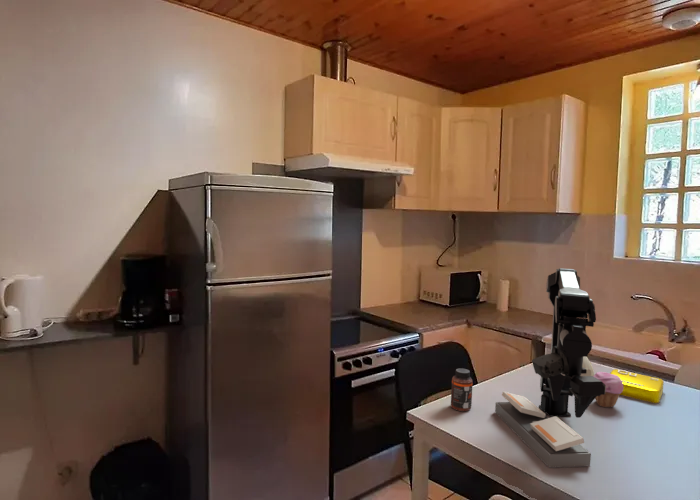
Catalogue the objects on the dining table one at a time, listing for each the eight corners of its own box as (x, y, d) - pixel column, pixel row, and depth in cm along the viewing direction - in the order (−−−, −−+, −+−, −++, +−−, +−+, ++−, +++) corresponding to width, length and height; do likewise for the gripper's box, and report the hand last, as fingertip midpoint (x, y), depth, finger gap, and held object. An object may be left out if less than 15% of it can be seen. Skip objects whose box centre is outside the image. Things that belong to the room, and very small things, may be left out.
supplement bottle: (472, 413, 126) (474, 375, 125) (450, 410, 127) (452, 373, 126) (470, 404, 132) (472, 368, 131) (450, 402, 133) (452, 366, 132)
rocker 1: (523, 400, 127) (524, 396, 127) (544, 418, 116) (545, 413, 116) (501, 395, 126) (503, 390, 126) (520, 412, 115) (522, 407, 115)
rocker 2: (556, 420, 111) (555, 415, 111) (584, 442, 100) (583, 437, 100) (531, 427, 111) (530, 423, 111) (556, 451, 100) (555, 446, 100)
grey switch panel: (527, 411, 128) (528, 400, 128) (590, 466, 100) (591, 451, 100) (495, 412, 127) (495, 400, 127) (548, 467, 99) (549, 453, 99)
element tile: (603, 391, 146) (604, 377, 146) (612, 379, 157) (613, 366, 157) (658, 405, 136) (659, 390, 136) (663, 391, 148) (664, 377, 147)
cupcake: (586, 397, 140) (588, 366, 139) (616, 400, 138) (618, 370, 137) (593, 408, 132) (595, 376, 131) (625, 412, 129) (628, 380, 128)
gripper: (519, 334, 113) (515, 393, 114) (561, 358, 94) (556, 428, 95) (559, 334, 114) (556, 392, 115) (609, 357, 95) (604, 426, 96)
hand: (566, 408), depth 105 cm, fingers open, 9 cm apart
